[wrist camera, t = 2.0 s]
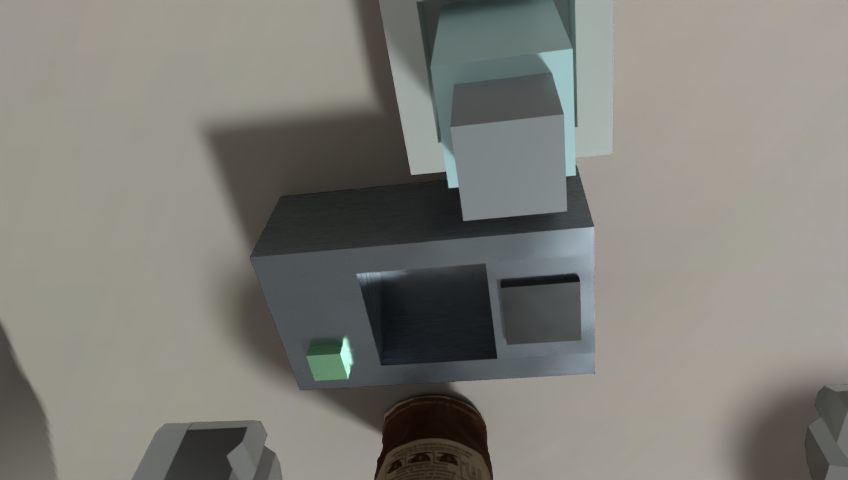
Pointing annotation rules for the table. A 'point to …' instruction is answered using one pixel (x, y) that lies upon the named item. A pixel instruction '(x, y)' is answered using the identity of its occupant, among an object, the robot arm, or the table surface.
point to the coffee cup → (434, 441)
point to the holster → (410, 63)
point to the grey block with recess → (427, 287)
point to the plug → (505, 106)
